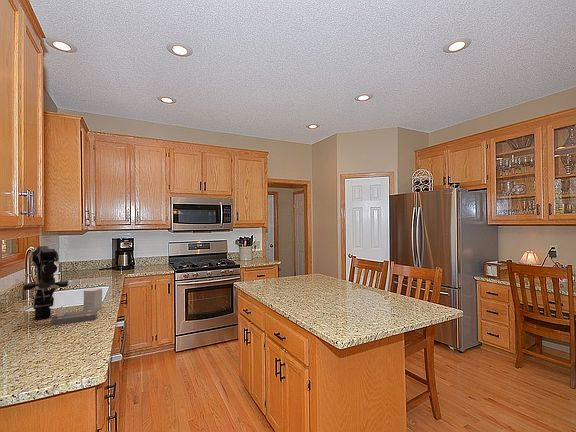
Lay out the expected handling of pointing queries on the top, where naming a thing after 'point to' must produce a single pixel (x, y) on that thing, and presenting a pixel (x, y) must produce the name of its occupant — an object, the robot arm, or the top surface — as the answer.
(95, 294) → the supplement box
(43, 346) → the top surface
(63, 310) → the fader
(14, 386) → the top surface
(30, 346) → the top surface
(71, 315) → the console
